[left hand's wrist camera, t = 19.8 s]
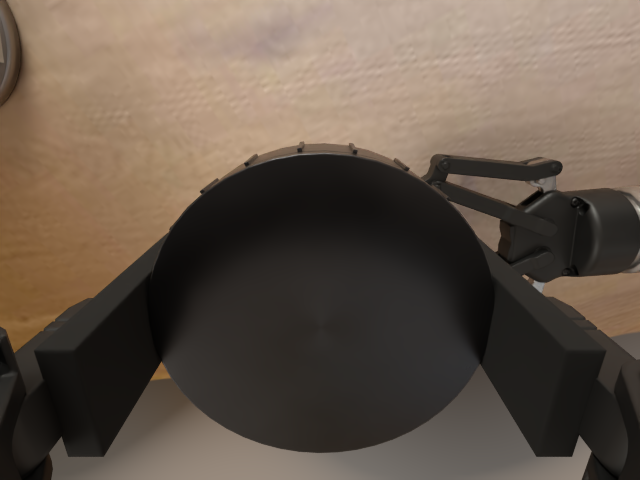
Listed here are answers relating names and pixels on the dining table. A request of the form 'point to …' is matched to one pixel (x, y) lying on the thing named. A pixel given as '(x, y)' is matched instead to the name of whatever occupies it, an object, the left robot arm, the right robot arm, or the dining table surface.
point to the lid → (321, 299)
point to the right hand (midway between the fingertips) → (352, 252)
